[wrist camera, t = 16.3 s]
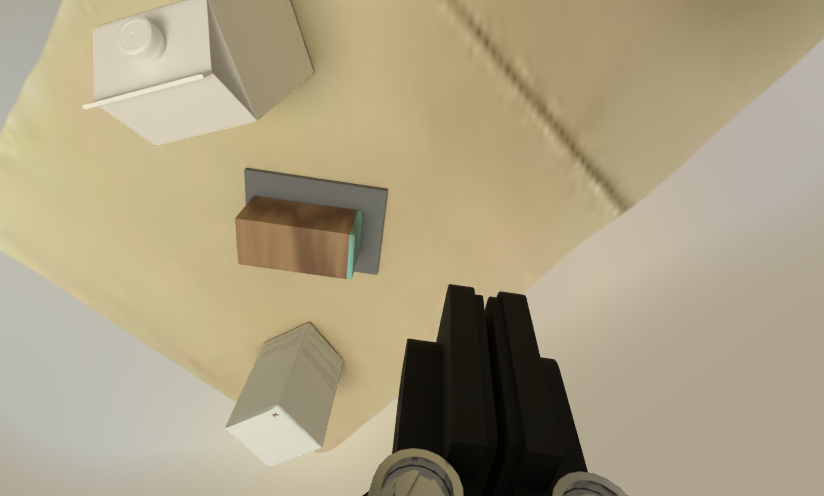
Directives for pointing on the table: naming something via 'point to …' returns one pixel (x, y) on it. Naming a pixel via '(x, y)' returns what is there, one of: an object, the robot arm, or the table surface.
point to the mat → (329, 204)
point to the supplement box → (287, 397)
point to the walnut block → (299, 237)
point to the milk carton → (198, 66)
